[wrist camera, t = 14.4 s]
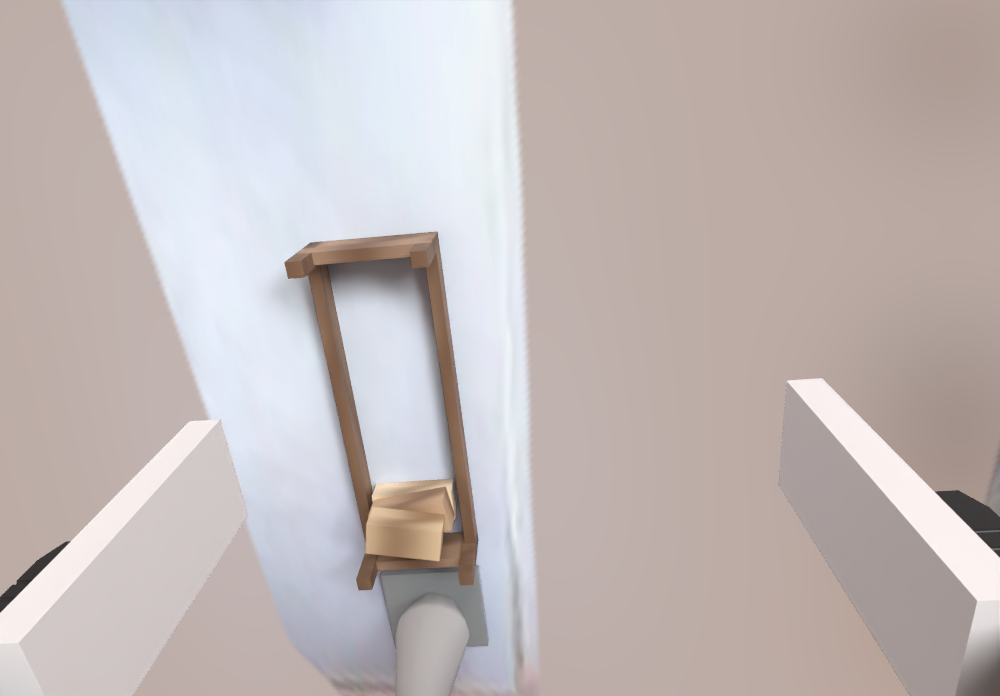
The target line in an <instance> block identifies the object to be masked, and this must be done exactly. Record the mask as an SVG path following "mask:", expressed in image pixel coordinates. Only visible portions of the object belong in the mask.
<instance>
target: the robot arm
mask: <svg viewBox="0 0 1000 696" xmlns="http://www.w3.org/2000/svg"><path fill="white" fill-rule="evenodd" d="M785 395H786V396H785V407H784V420H783V432H782V446H781V458H780V470H779V484H778V485H779V486H780V488H781V490H782V491H783V493H784V495H785V496H786V498H787V499H788V501H789V503H790V504H791V506H792V507H793V509H794V511H795V512H796V514H797V515H798V517H799V519H800V520H801V522H802V523H803V525H804V527H805V528H806V530H807V531H808V533H809V535H810V536H811V538H812V539H813V541H814V543H815V544H816V546H817V547H818V549H819V551H820V552H821V554H822V555H823V557H824V559H825V560H826V562H827V563H828V565H829V567H830V568H831V570H832V571H833V573H834V575H835V576H836V578H837V580H838V581H839V583H840V584H841V586H842V587H843V589H844V591H845V592H846V594H847V595H848V597H849V599H850V600H851V602H852V604H853V605H854V607H855V608H856V610H857V612H858V613H859V615H860V616H861V618H862V619H863V621H864V623H865V624H866V626H867V628H868V629H869V631H870V632H871V634H872V636H873V637H874V639H875V640H876V642H877V644H878V645H879V647H880V648H881V650H882V652H883V653H884V655H885V656H886V658H887V660H888V661H889V663H890V664H891V666H892V668H893V669H894V671H895V673H896V674H897V676H898V677H899V679H900V681H901V682H902V684H903V685H904V687H905V688H906V690H907V692H908V693H909V695H910V696H1000V517H999V516H998V515H997V514H996V513H995V512H994V511H992V510H991V509H990V508H989V507H988V506H986V505H984V504H982V503H980V502H978V501H976V500H975V499H973V498H971V497H969V496H967V495H965V494H964V493H962V492H960V491H958V490H956V491H938V492H934V491H933V490H932V489H931V488H930V487H929V486H928V485H927V484H926V483H925V482H924V481H923V480H922V479H921V478H920V477H919V476H918V475H917V474H916V473H915V472H914V471H913V470H912V469H911V468H910V467H909V466H908V465H907V464H906V463H905V462H904V461H903V460H902V459H901V458H900V457H899V456H898V455H897V454H896V453H895V452H894V451H893V450H892V449H891V448H890V447H889V446H888V445H887V444H886V443H885V442H884V440H882V438H880V436H879V435H878V434H876V432H875V431H873V430H872V428H871V427H870V426H869V425H868V424H867V423H866V422H865V421H864V420H863V419H862V418H861V417H860V416H859V415H858V414H857V413H856V412H855V411H854V410H853V409H852V408H851V407H850V406H849V405H848V404H847V403H846V402H845V401H844V400H843V399H842V398H841V397H840V396H839V395H838V394H837V393H836V392H835V391H834V390H833V389H832V388H831V387H830V386H829V385H828V384H827V383H826V382H825V381H824V380H823V379H822V378H820V379H806V380H791V381H787V382H786V394H785ZM247 516H248V512H247V509H246V505H245V502H244V499H243V495H242V492H241V488H240V485H239V482H238V478H237V475H236V471H235V468H234V464H233V461H232V458H231V454H230V451H229V447H228V444H227V440H226V437H225V434H224V430H223V427H222V423H221V420H220V419H218V420H204V421H191V422H188V424H186V425H185V427H183V428H182V430H181V431H179V432H178V434H177V435H176V436H175V437H174V438H173V439H172V440H171V441H170V442H169V443H168V444H167V445H166V446H165V447H164V448H163V449H162V450H161V451H160V452H159V453H158V454H157V455H156V456H155V457H154V458H153V459H152V460H151V461H150V462H149V463H148V464H147V465H146V466H145V467H144V468H143V469H142V470H141V471H140V472H139V473H138V474H137V475H136V476H135V477H134V478H133V479H132V480H131V481H130V482H129V483H128V484H127V485H126V486H125V487H124V488H123V489H122V490H121V491H120V492H119V493H118V494H117V495H116V496H115V497H114V498H113V499H112V500H111V501H110V502H109V503H108V504H107V505H106V507H104V509H102V510H101V512H100V513H99V514H98V515H97V516H96V517H95V518H94V519H93V520H92V521H91V522H90V523H89V524H88V525H87V526H86V527H85V528H84V529H83V530H82V531H81V532H80V533H79V534H78V535H77V536H76V537H75V538H74V539H73V540H72V541H69V542H65V543H63V544H62V545H60V546H59V547H57V548H55V549H54V550H52V551H51V552H49V553H48V554H46V555H45V556H43V557H42V558H40V559H39V560H37V561H36V562H35V563H34V564H33V565H32V566H31V567H30V568H29V569H28V570H27V571H26V572H25V573H24V574H23V575H22V576H21V577H20V578H19V579H18V580H17V584H16V585H12V586H11V587H10V588H9V589H8V590H7V591H6V592H5V593H4V594H3V595H2V596H1V597H0V696H133V694H134V693H135V691H136V690H137V688H138V686H139V685H140V683H141V682H142V680H143V679H144V677H145V676H146V674H147V673H148V671H149V669H150V668H151V666H152V665H153V663H154V661H155V660H156V658H157V657H158V655H159V654H160V652H161V651H162V649H163V647H164V646H165V644H166V643H167V641H168V640H169V638H170V637H171V635H172V633H173V632H174V630H175V628H176V627H177V625H178V624H179V622H180V621H181V619H182V618H183V616H184V615H185V613H186V612H187V610H188V608H189V607H190V605H191V604H192V602H193V601H194V599H195V597H196V596H197V594H198V593H199V591H200V589H201V588H202V586H203V585H204V583H205V581H206V580H207V579H208V577H209V576H210V574H211V572H212V571H213V569H214V568H215V566H216V565H217V563H218V561H219V560H220V558H221V557H222V555H223V554H224V552H225V551H226V549H227V547H228V546H229V544H230V543H231V541H232V540H233V538H234V536H235V535H236V533H237V532H238V530H239V529H240V527H241V526H242V524H243V522H244V521H245V519H246V518H247Z"/></svg>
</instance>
